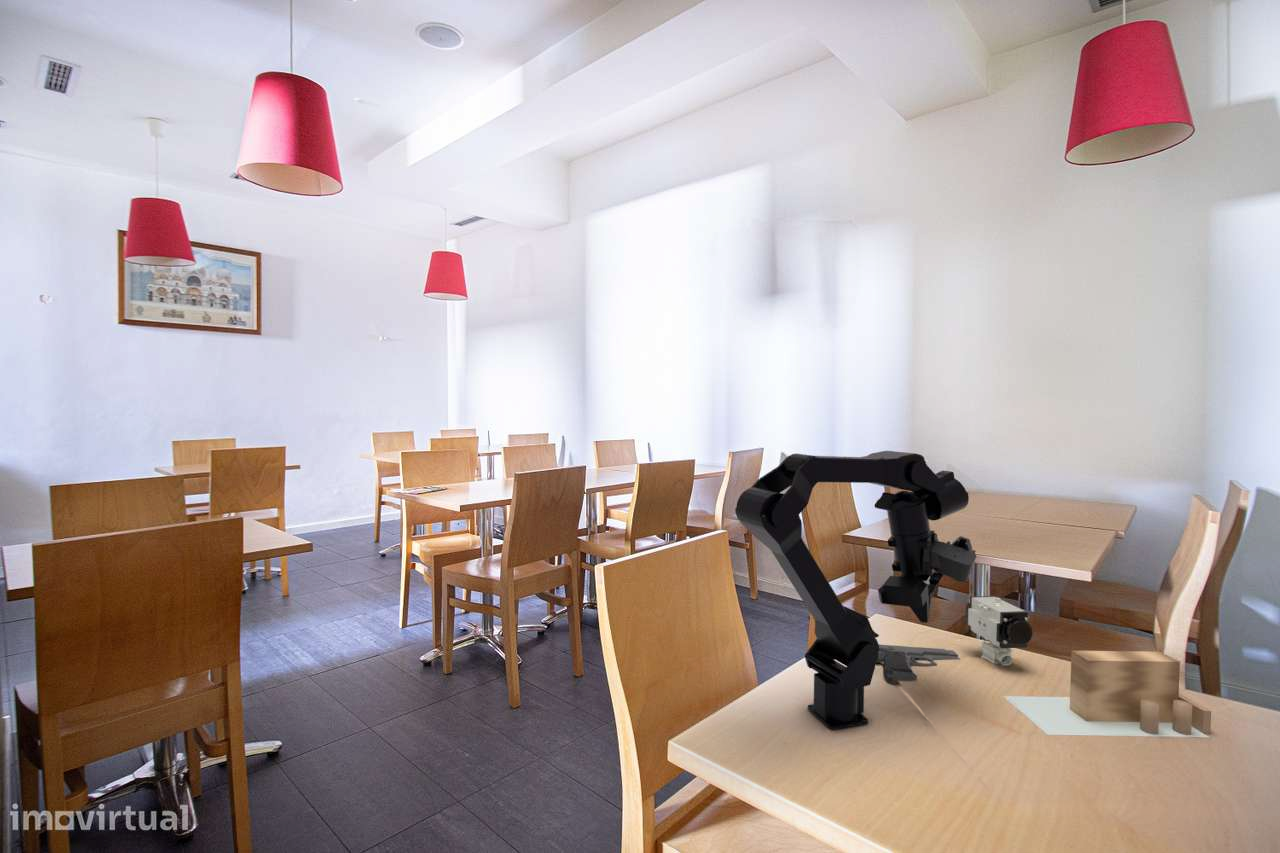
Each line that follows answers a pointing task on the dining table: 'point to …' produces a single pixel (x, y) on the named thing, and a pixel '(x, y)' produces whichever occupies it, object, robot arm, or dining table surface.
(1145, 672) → the brown wooden block
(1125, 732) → the panel
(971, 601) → the pneumatic valve
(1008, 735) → the dining table surface
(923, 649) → the handgun
